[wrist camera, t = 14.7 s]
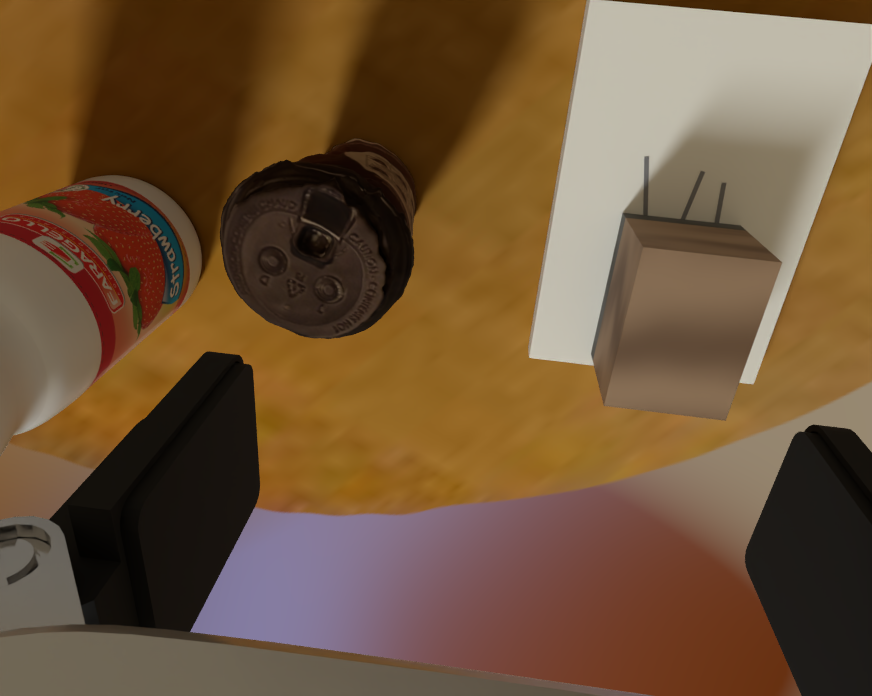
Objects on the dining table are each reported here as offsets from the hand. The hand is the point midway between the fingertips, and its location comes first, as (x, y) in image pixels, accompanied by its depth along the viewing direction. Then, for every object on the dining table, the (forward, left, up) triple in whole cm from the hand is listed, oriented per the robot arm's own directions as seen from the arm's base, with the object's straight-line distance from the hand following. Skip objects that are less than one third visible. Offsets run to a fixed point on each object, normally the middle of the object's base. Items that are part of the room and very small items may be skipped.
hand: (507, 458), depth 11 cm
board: (+2, +10, -28) cm, 30 cm away
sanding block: (+7, +10, -27) cm, 29 cm away
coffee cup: (+3, -8, -28) cm, 30 cm away
